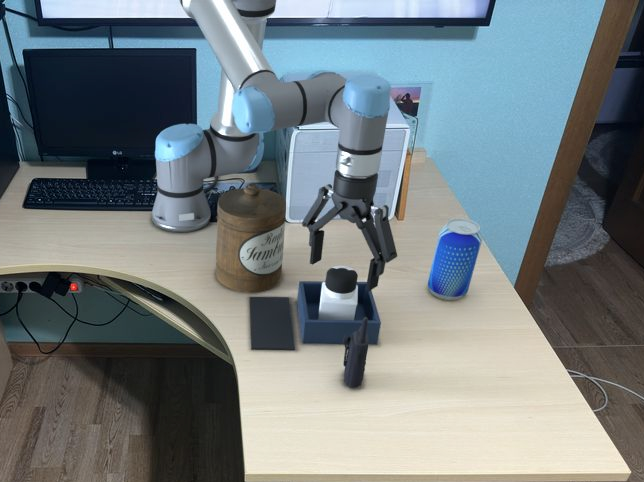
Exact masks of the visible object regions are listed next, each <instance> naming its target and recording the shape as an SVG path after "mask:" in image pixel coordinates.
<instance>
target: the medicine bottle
mask: <svg viewBox="0 0 644 482" xmlns="http://www.w3.org/2000/svg"><path fill="white" fill-rule="evenodd" d="M325 274H326V275H325V280H324V281H325V282H323V283H322V289H321V297H320V306H319V315H318V320H355V316H356V310H357V301H358V286H357V282H358V277H359V275H358V273H357V271H356V270H355V269H354V268H352V267H349V266H347V265H335V266H332V267H330V268H328V270H326V273H325Z"/></svg>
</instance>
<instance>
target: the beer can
mask: <svg viewBox="0 0 644 482" xmlns="http://www.w3.org/2000/svg"><path fill="white" fill-rule="evenodd" d="M438 233H439V234H438V238H437V242H436V246H435V250H434V254H433V259H432V263H431V268H430V271H429V275H428V280H427V288H428V289H429V291H430V293H431V294H432V295H433V296H434V297H436V298H438V299H441V300H445V301H455V300H459V299H461V298H462V297H463V296H465V295H466V294H467V293H468V291H469V288H470V284H471V281H472V277H473V274H474V270H475V267H476V264H477V259H478V257H479V253H480V249H481V246H482V242H483V236H482V232H481V226H480V224H479V223H478V222H476V221H474V220H472V219H468V218H463V217H455V218H450V219H449V220H448V221H447V222H446V224H445V226H443V227H442V228H441V229H440V231H439V232H438Z"/></svg>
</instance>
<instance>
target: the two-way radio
mask: <svg viewBox="0 0 644 482" xmlns="http://www.w3.org/2000/svg"><path fill="white" fill-rule="evenodd" d="M367 322H368V318H367V317H364V318H363V322H362V326H361V327H360V328H359V331H356V332H353V333H352V335H351V336H350V338H349V337H348V336H344V338H343V343H344V344H343V345H344V355H343V363H342V364H343V366H344V371H343V381H344V384H345V385H346V386H348V387H350V388H360V387H361V386H362V383H363V380H364V374H365V371H366V364H367V358H368V357H367V356H368V351H369V346H370V344H369V337H368V334H367V333H366V330H367Z"/></svg>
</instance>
